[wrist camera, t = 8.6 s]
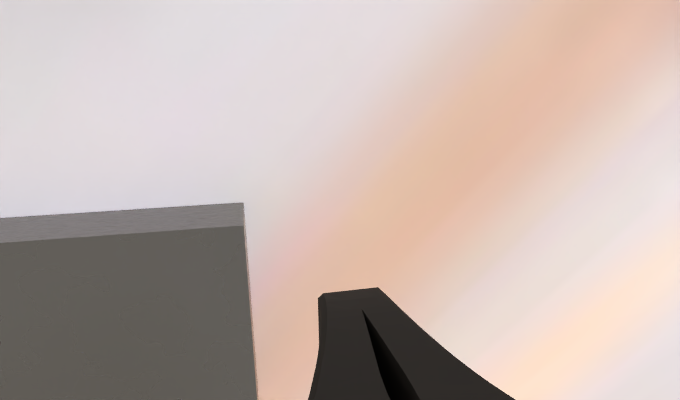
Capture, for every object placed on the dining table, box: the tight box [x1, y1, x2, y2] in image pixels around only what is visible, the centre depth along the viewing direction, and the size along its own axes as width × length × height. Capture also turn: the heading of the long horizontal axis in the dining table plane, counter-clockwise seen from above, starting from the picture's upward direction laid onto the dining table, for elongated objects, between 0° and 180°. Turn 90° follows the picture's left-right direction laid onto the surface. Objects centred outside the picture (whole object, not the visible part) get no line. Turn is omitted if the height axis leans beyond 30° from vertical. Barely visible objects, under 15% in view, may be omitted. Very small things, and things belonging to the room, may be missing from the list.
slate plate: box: [0, 203, 258, 400], centre depth 19 cm, size 10×12×2 cm
